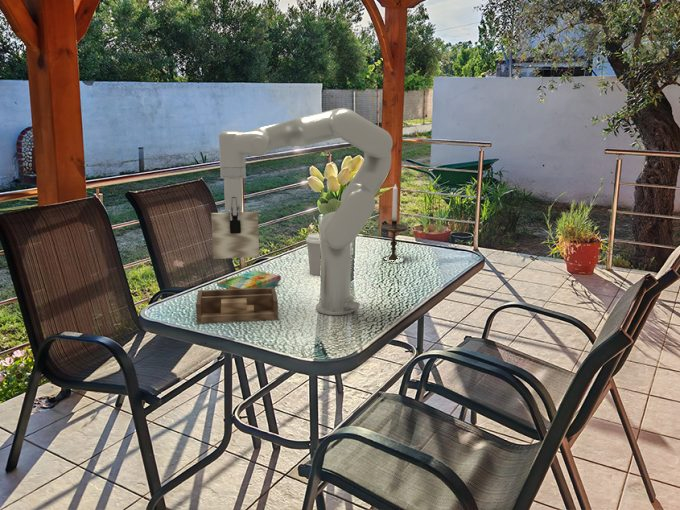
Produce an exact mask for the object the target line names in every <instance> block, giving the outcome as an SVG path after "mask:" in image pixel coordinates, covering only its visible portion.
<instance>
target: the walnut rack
mask: <svg viewBox="0 0 680 510" xmlns="http://www.w3.org/2000/svg"><path fill="white" fill-rule="evenodd" d="M239 298H246V300H247V305H254V313H249V314H228V315H221V299H239ZM278 301H279V300H278V296H277V291H276V287H275V286H273V287H267V288H243V289H226V288H224V289H223V288H222V289H219V288H218V289H199V290H197V297H196V303H195V306H196V307H195V309H196V313H195V314H196V324H197V325H198V324H199V325H201V324H220V323H224V324H225V323H239V322H240V323H241V322H260V321H261V322H264V321H278V320H279V304H278V303H279V302H278Z"/></svg>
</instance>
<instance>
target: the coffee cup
mask: <svg viewBox="0 0 680 510" xmlns="http://www.w3.org/2000/svg"><path fill="white" fill-rule="evenodd" d="M319 233H320V232H315V233H309V234H308V235H307V237H306V238H305V242H306V245H307V255H308V266H309V275H312V276H314V275H315V277H317V276H318V277H321V276H320V240H319V238H320V237H319Z"/></svg>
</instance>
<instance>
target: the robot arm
mask: <svg viewBox="0 0 680 510" xmlns="http://www.w3.org/2000/svg"><path fill="white" fill-rule="evenodd" d="M339 138H340V139H342V140H343V141H345V142H346V143H348V144H349V145H351V146H353V147H355V148H357V149H359V150H360V151H361V152H363V153H364V155H363V157H364V158H363V161H362V163H361V166H359V168H358V170H357V172H356V174H355V175H354V176H353V178H352V179H351V180H350V182H349V183H348V185H347V186H346V188H345V189H344V190H343V192H342V193H341V197H340V205H339V206H338V208H337V209H336V211H330V212H328V213H327V214H325V215H324V216H323V217H322V219H321V221H320V225H319V233H320V242H321V276H320V302H318V303H317V304H315V310H316V311H317V312H318V313H320V314H322V315H327V316H343V315H348V314H352V313H353V312H354V311H358V310H359V308H360V302H358V301H354V296H353V295H351V276H352V275H351V274H352V273H351V272H352V271H351V265H352V264H351V263H352V245H351V244H352V243H353V242H354V241H355V239H356V238H358V235H359V234H360V233H361V231H362V229H364V227H365V225H366V224H367V222H368V221H369V220H370V218H371V216H372V215H373V213H374V210H375V207H376V199H375V196H376V194H377V193H378V191H379V190H380V188H381V187H382V185H383V184H384V182H385V181H386V178H387V176H388V175H389V173H390V169H391V167H392V148H393V145H394V144H393V143H394V142H393V138H392V136H391V134H390V133H389V132H388V131H387V130H386V129H384V128H382V127H380V126H378V125H377V124H376V123H373V122H371V121H370V120H368V119H367V118H365V117H363V116H362V115H360V114H358V113H357V112H355V111H354V110H352V109H349V108H347V107H339V108H334V109H331V110H330V109H329V110H325V111H322V112H317V113H314V114H309V115H305V116H301V117H300V116H299V117H297V118H293V119H290V120H287V121H283V122H278V123H274V124H270V125H266V126H262V127H258V128H254V129H252V130H251V131H246V132H245V131H241V130H224V131H220V132H219V134H218V147H219V166H220V167H219V169H220V173H219V174H220V179H223V189H224V190H223V192H224V194H223V195H224V208H225V209H224V210H225V213H228V211H229V213H230V233H231V234H234V233H241V224H240V219H239V212H241V211H242V207H243V179H245V178H247V175H246V173H247V171H246V169H247V168H246V156H252V157H263V156H264V155H266V154H268V152H269V151H273V150H277V149H283V148H287V147H304V146H305V147H306V146H312V145H314V144H319V143H324V142H327V141H331V140H336V139H339Z"/></svg>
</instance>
